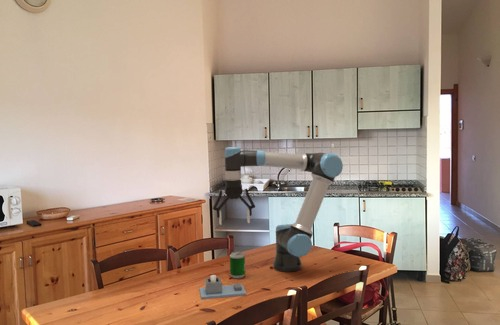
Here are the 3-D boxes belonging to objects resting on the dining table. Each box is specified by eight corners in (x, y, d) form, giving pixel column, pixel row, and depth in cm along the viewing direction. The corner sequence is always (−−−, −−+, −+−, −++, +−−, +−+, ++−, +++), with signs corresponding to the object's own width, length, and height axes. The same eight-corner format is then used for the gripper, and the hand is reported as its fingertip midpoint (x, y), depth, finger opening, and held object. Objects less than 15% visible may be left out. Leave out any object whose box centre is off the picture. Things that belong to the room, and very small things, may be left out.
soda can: (243, 279, 209) (242, 255, 208) (228, 278, 211) (228, 255, 210) (246, 274, 216) (246, 251, 216) (232, 274, 218) (231, 250, 217)
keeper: (242, 286, 200) (241, 269, 199) (246, 295, 188) (246, 277, 187) (199, 289, 196) (199, 272, 196) (201, 299, 184) (200, 281, 184)
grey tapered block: (220, 287, 195) (220, 277, 195) (222, 293, 188) (221, 282, 188) (205, 289, 194) (204, 278, 194) (206, 294, 187) (206, 283, 187)
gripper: (257, 177, 208) (258, 220, 209) (206, 179, 204) (207, 223, 205) (260, 179, 201) (261, 223, 202) (207, 181, 196) (209, 226, 198)
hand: (234, 223), depth 204 cm, fingers open, 13 cm apart
